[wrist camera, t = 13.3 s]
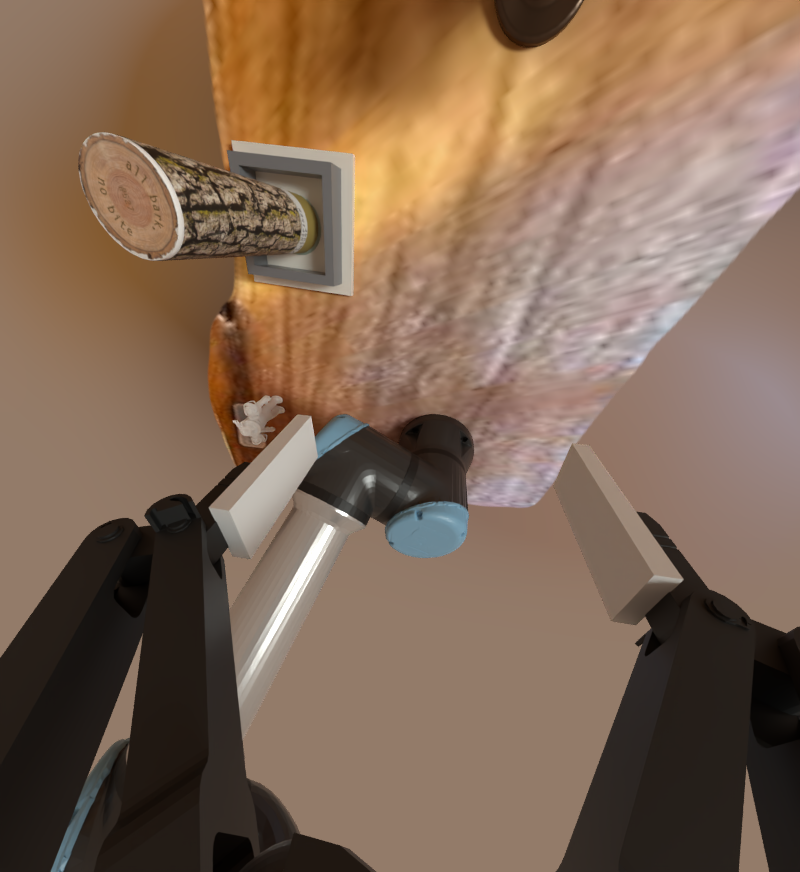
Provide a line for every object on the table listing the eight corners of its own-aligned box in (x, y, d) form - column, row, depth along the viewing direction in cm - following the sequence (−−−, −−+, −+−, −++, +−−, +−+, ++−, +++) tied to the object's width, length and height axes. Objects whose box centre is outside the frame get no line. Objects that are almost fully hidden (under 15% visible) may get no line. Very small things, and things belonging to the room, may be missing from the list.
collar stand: (353, 295, 45) (344, 299, 41) (258, 280, 46) (240, 283, 42) (355, 155, 36) (343, 145, 32) (236, 142, 37) (211, 131, 33)
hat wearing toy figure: (265, 383, 57) (225, 412, 47) (283, 386, 56) (247, 416, 47) (272, 421, 62) (237, 454, 52) (289, 424, 62) (257, 458, 52)
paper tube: (317, 193, 38) (151, 132, 17) (322, 254, 41) (193, 263, 21) (269, 192, 38) (55, 131, 18) (279, 252, 42) (113, 258, 22)
